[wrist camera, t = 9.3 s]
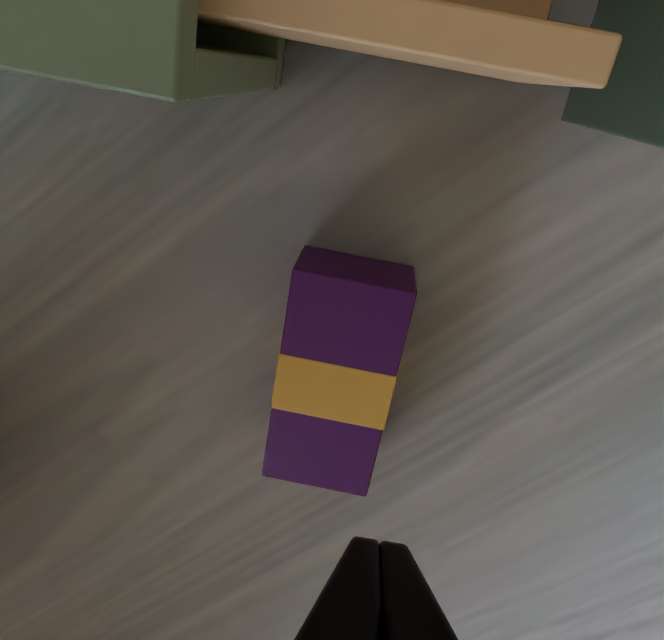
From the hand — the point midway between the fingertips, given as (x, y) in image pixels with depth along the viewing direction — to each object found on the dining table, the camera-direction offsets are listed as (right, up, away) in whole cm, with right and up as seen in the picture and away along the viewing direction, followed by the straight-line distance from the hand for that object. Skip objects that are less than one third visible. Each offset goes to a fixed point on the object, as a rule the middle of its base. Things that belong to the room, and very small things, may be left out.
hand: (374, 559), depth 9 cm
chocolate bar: (0, +2, +11) cm, 11 cm away
